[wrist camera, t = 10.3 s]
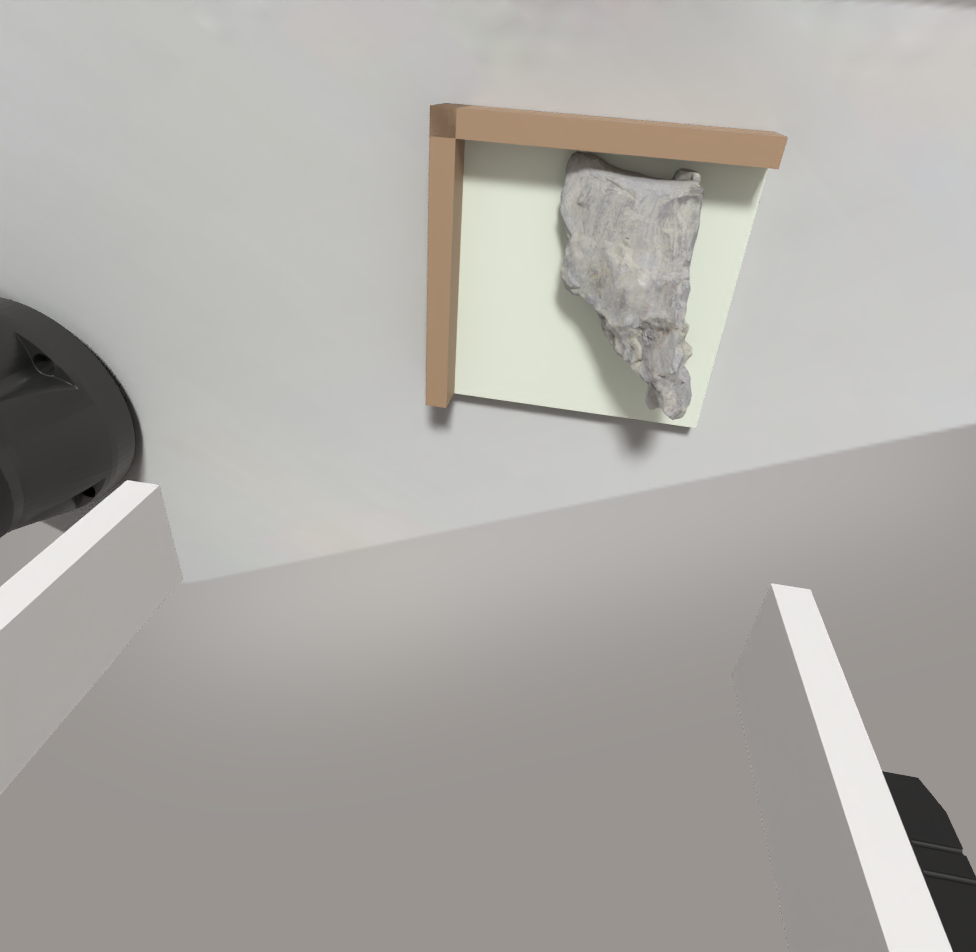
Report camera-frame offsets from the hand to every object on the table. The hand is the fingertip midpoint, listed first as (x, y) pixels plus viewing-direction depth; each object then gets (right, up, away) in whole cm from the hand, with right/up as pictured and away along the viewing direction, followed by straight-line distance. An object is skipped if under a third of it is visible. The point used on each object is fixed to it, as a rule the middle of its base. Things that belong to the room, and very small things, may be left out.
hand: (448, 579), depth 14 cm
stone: (+12, +10, +21) cm, 26 cm away
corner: (+6, +12, +20) cm, 24 cm away
